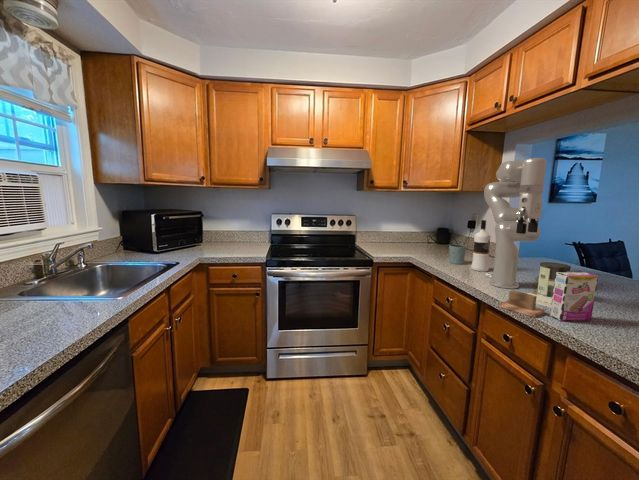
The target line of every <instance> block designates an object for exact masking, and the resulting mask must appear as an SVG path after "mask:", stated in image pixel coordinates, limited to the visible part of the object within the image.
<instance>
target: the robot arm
mask: <svg viewBox="0 0 639 480" xmlns="http://www.w3.org/2000/svg"><path fill="white" fill-rule="evenodd" d="M546 167H547V160H546V158H544V157H531V158H526V159H524V160H508V161H504V162H502V163H501V164H500V165H499V167H498V169H497V170H496V173H495V177H496V179H497V180H498V181H493V182H489V183H487V184H486V186H484V190H483V194H484V195H483V196H484V200H485V203H486V204H487V206H488V207H489V209H490V210H491V213H492V216H493V218H494V222H495V224H496V225H495V227H494V234H495V249H494V250H495V251H494V262H493V272H492V273H488V272H486V273H485V278H488V279H489V281H488V284H490V285H491V286H493V287H497V288H501V289H502V288H503V289H512V290H513V289H514V290H515V289H518V288H520V284H519V283H517V282H516V281H517V274H518V272H517V271H518V263H519V255H520V254H519V248H518V246H517V245H516V244H515V243H514V242H529V243H530V242H535V241H536V240H538V239H539V237H540V236H541V235H540V234H541V230H540V229H541V228H540V226H539V222H540V220H539V219H540V218H542V211H543V194H544V187H545V185H544V184H545V178H546V169H547V168H546ZM504 198H507V199H509V198H510V199H511V198H512V199H513V198H519V201H518V207H512V206H511V204H510V203H509V201H507V200H506V199H504Z"/></svg>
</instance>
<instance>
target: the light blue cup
mask: <svg viewBox="0 0 639 480" xmlns="http://www.w3.org/2000/svg"><path fill="white" fill-rule="evenodd" d="M448 246H449V247H448V248H449V250H448V251H449V259H448V260H449V261H448V262H449V264H450V265H456V266H457V265H458V266H463V265H464V264H465V255H466V252H467V251H466V250H467V245H464V244H456V243H453V244H449V245H448Z"/></svg>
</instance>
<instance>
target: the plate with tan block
mask: <svg viewBox="0 0 639 480" xmlns="http://www.w3.org/2000/svg"><path fill="white" fill-rule="evenodd" d="M536 298H537V296H534V295H530V294H527V293H525V292H522V291H517V290H515V289H514V290H513V289H512V290H510V291H509V295H508V300H504V301H502V302H499V308H501V309H506V310H507V311H508V310H510V311H512V312H516V313H519V314H521V315H525V316H528V317H532V318H537V317H539V316H541V315H544V314H545V309H543V308H541V307H540V308H539V307H536V306H537V304H536Z"/></svg>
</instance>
